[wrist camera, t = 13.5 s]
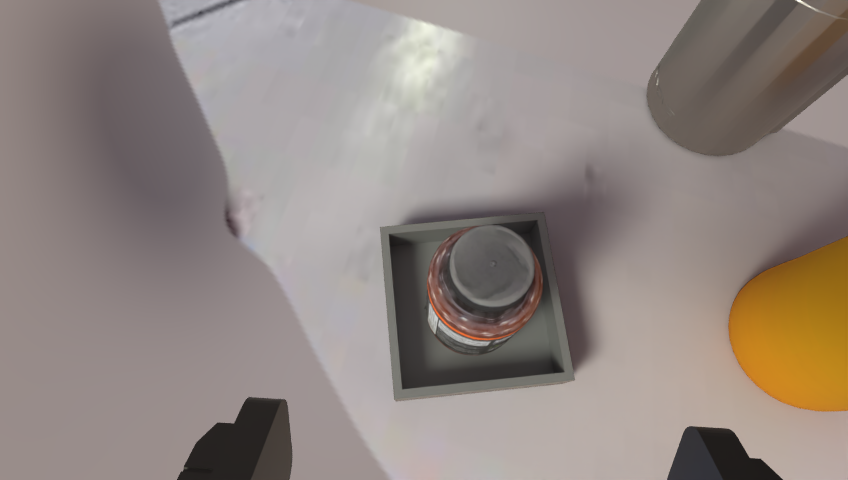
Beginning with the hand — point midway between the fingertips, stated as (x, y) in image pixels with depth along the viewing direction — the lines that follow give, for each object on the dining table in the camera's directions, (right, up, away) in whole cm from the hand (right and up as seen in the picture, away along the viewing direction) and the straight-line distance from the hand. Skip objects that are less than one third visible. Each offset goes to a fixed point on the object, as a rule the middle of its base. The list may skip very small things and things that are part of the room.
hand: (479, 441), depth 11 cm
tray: (+2, 0, +25) cm, 25 cm away
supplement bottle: (+2, -1, +25) cm, 25 cm away
